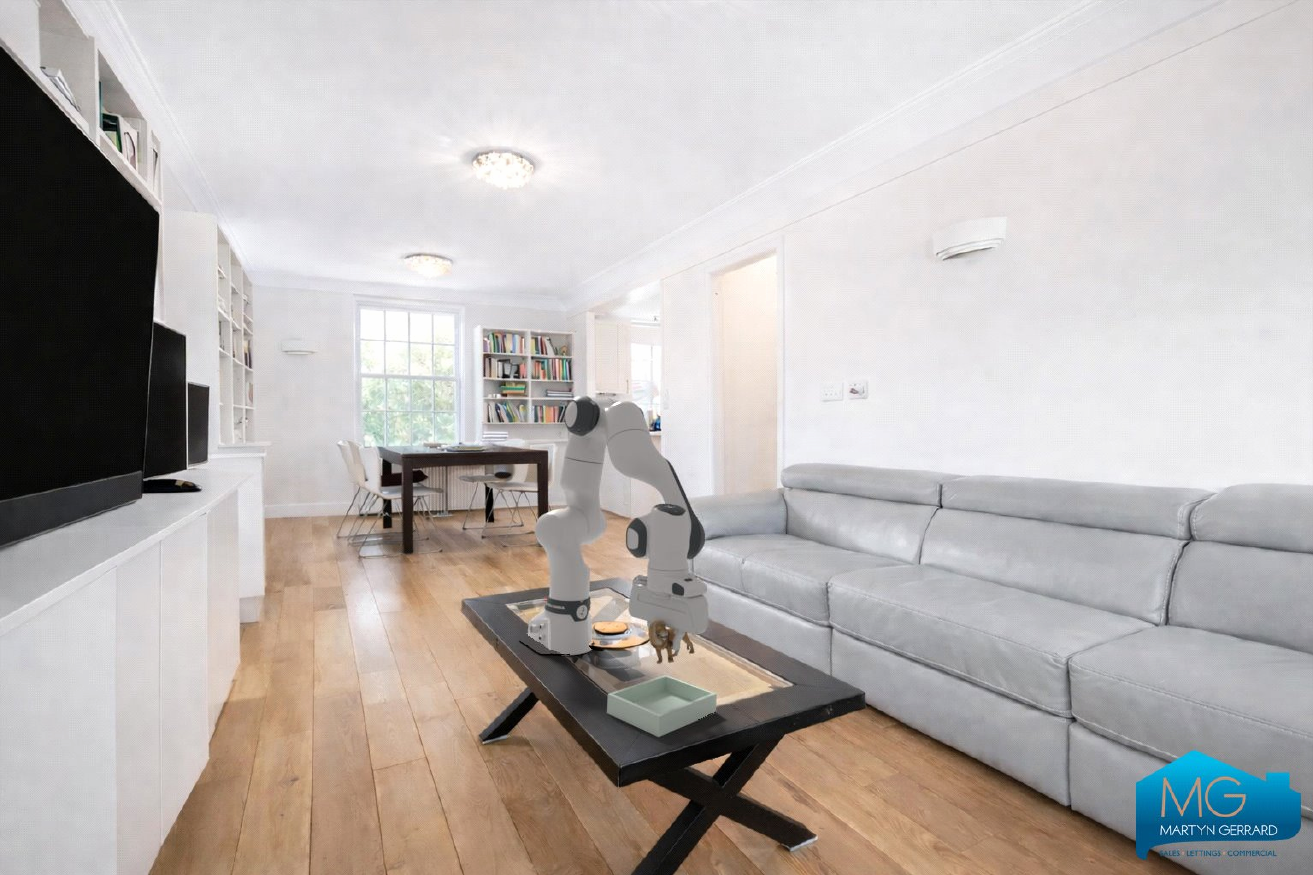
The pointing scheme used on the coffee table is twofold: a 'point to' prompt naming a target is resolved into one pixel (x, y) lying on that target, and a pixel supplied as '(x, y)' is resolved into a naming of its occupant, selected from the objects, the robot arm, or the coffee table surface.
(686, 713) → the box
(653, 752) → the coffee table surface
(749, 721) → the coffee table surface
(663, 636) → the lion figurine
